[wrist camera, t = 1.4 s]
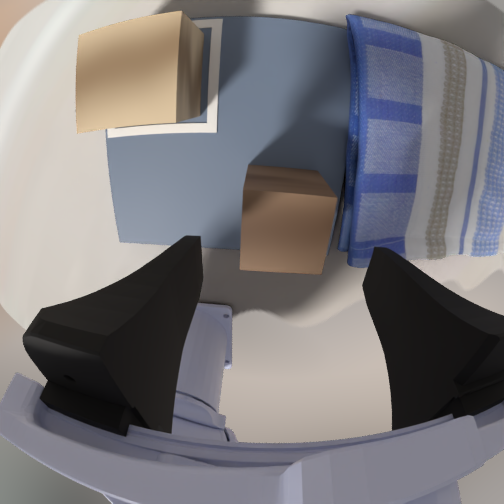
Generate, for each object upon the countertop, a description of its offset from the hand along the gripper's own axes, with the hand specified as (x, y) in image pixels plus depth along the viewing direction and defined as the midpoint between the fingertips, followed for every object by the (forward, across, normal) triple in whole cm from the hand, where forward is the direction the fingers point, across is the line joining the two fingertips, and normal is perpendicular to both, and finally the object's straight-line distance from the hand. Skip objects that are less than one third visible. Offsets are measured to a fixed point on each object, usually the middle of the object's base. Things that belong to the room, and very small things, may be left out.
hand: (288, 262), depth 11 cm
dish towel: (+8, -15, -5) cm, 18 cm away
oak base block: (+8, +8, -8) cm, 13 cm away
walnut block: (+8, 0, 0) cm, 8 cm away
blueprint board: (+8, +4, -4) cm, 10 cm away
